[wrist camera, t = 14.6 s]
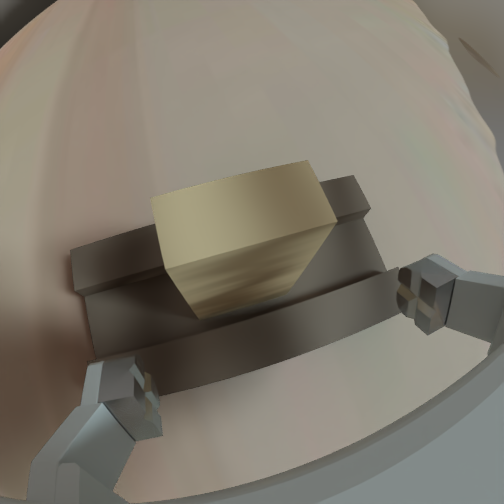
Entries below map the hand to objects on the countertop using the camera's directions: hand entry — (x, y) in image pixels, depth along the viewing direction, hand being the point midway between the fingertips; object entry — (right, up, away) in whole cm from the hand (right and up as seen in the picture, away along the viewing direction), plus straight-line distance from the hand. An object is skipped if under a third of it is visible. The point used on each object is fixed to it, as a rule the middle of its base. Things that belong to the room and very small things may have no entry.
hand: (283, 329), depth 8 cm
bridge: (-2, -1, +12) cm, 12 cm away
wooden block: (-2, 0, +10) cm, 10 cm away
